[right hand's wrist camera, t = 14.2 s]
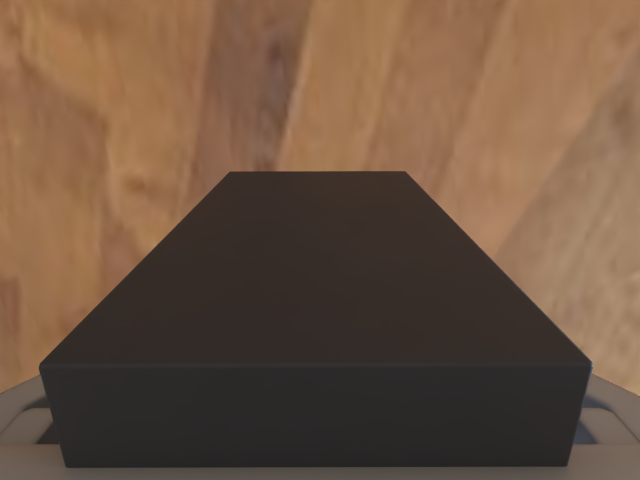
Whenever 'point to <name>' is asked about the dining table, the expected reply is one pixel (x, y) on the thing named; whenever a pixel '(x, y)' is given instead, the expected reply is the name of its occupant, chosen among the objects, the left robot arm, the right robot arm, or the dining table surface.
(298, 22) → the dining table surface
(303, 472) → the right robot arm
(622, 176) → the dining table surface
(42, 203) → the dining table surface
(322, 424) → the bar
